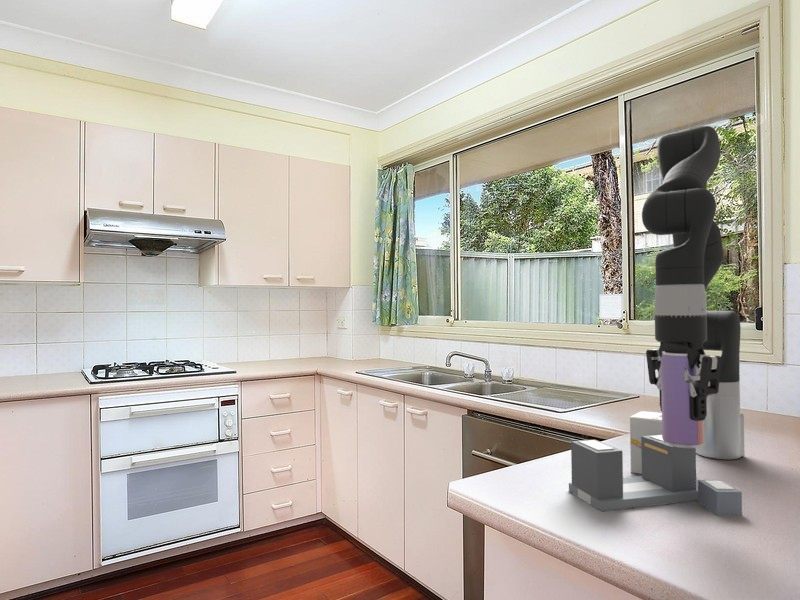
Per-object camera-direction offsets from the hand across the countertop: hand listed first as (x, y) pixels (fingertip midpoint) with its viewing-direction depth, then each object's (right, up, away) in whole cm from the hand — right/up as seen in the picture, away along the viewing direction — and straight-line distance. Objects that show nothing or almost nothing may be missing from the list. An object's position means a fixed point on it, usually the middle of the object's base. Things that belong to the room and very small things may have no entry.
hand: (682, 415), depth 86 cm
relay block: (+8, -17, +4) cm, 19 cm away
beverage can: (0, -5, 0) cm, 5 cm away
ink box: (+8, -17, +24) cm, 31 cm away
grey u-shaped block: (-4, -17, +10) cm, 20 cm away
